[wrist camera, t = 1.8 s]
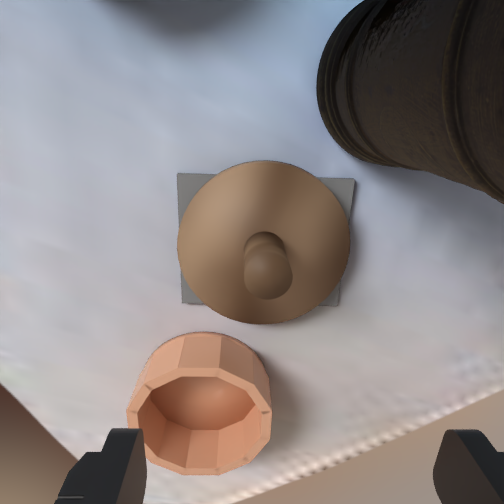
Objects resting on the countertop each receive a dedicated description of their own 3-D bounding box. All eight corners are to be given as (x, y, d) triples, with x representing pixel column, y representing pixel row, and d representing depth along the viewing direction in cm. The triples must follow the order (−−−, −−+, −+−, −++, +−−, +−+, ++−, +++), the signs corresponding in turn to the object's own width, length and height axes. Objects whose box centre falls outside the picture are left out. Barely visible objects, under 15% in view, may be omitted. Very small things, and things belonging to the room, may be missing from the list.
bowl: (270, 332, 27) (275, 368, 23) (264, 430, 31) (267, 475, 27) (137, 330, 27) (121, 366, 23) (147, 430, 30) (134, 475, 27)
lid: (357, 163, 22) (387, 178, 18) (335, 317, 26) (355, 363, 22) (176, 157, 22) (158, 171, 17) (182, 315, 26) (170, 360, 21)
